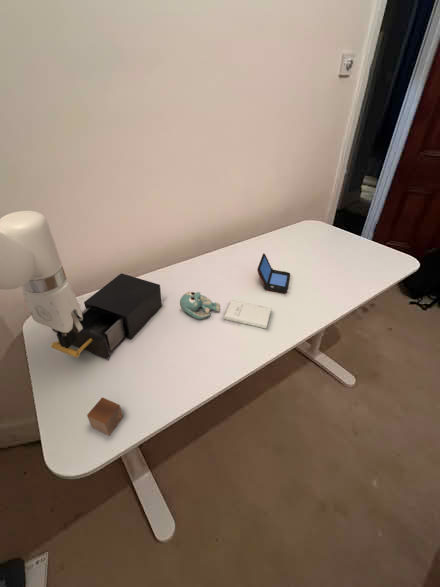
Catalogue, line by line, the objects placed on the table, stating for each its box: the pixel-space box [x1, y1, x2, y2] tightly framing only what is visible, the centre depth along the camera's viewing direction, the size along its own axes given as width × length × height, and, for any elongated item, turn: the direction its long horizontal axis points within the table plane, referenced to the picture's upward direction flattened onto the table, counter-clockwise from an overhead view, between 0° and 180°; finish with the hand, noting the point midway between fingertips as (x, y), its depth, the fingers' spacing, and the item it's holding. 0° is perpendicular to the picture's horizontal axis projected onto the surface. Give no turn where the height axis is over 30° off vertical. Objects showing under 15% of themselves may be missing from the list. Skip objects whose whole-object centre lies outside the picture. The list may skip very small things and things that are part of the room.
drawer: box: [50, 306, 128, 360], centre depth 77 cm, size 20×12×6 cm, turn 157°
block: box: [86, 396, 124, 437], centre depth 61 cm, size 4×4×4 cm
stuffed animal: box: [179, 291, 221, 320], centre depth 90 cm, size 11×7×12 cm
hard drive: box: [224, 300, 272, 330], centre depth 90 cm, size 2×8×12 cm
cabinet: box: [83, 272, 163, 340], centre depth 86 cm, size 16×14×8 cm
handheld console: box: [257, 252, 291, 294], centre depth 103 cm, size 12×11×7 cm
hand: (69, 343), depth 69 cm, fingers closed
